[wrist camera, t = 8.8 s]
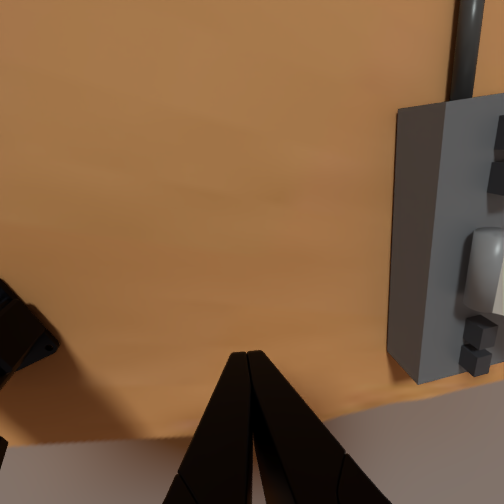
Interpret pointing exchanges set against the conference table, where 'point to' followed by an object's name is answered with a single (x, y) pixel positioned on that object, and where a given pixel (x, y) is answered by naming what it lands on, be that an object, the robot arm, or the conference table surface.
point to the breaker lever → (486, 271)
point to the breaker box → (446, 221)
